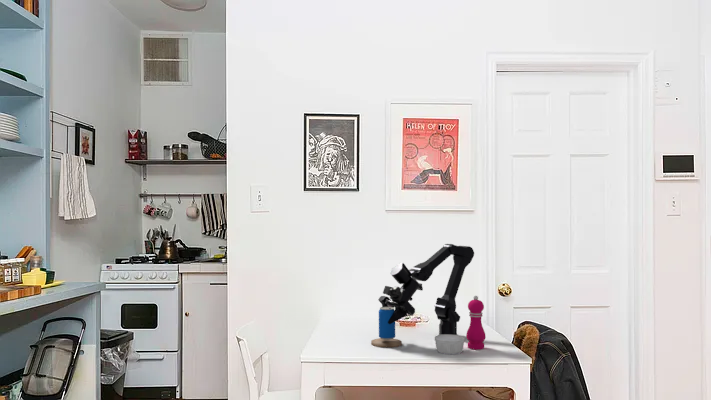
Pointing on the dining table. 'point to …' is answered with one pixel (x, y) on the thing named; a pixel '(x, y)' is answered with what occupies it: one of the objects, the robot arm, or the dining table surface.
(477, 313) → the pepper mill
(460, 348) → the ramekin
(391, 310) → the beverage can
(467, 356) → the dining table surface
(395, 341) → the walnut coaster
